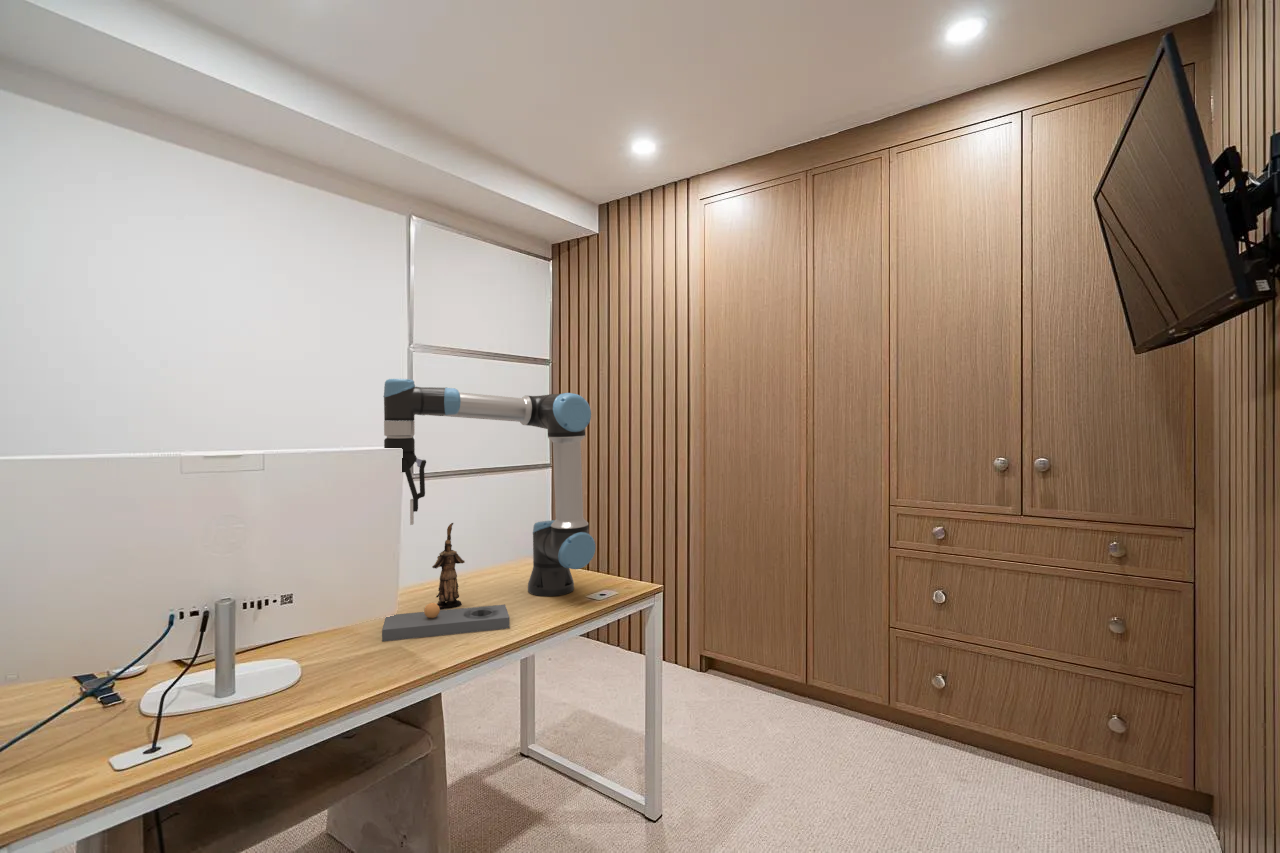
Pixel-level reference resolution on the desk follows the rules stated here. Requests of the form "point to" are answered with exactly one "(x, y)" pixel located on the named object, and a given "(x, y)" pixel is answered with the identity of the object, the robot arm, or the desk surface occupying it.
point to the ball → (431, 610)
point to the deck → (445, 622)
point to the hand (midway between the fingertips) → (399, 524)
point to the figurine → (448, 575)
